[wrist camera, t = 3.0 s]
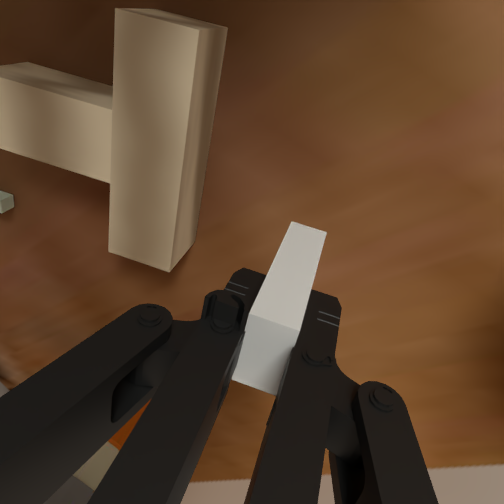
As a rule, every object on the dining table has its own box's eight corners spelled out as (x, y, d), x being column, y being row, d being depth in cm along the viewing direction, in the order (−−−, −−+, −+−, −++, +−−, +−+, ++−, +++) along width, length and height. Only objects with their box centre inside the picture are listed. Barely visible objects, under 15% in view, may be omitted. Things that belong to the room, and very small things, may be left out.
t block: (228, 27, 22) (199, 30, 18) (194, 241, 28) (169, 272, 25) (21, -26, 23) (-41, -33, 20) (37, 189, 30) (-8, 212, 27)
